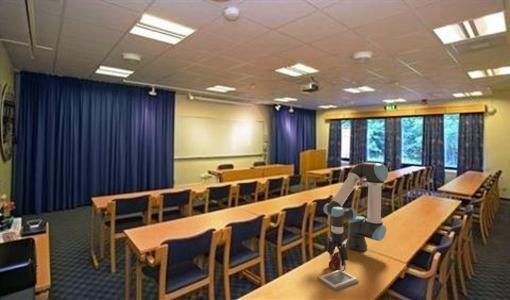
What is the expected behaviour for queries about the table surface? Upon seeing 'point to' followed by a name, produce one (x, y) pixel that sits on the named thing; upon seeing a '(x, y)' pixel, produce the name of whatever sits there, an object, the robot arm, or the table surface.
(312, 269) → the table surface
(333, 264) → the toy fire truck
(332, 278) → the base board
